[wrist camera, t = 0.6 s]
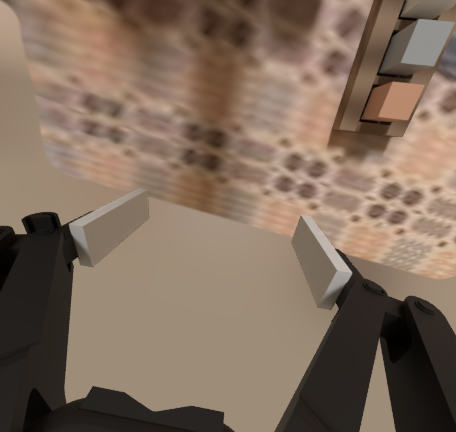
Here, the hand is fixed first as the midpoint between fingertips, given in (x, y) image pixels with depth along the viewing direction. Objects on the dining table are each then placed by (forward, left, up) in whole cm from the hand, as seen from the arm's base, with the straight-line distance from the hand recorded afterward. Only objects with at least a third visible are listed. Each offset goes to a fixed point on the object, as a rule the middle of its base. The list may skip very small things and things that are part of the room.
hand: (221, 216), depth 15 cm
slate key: (-20, +23, -24) cm, 38 cm away
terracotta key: (-13, +23, -24) cm, 35 cm away
